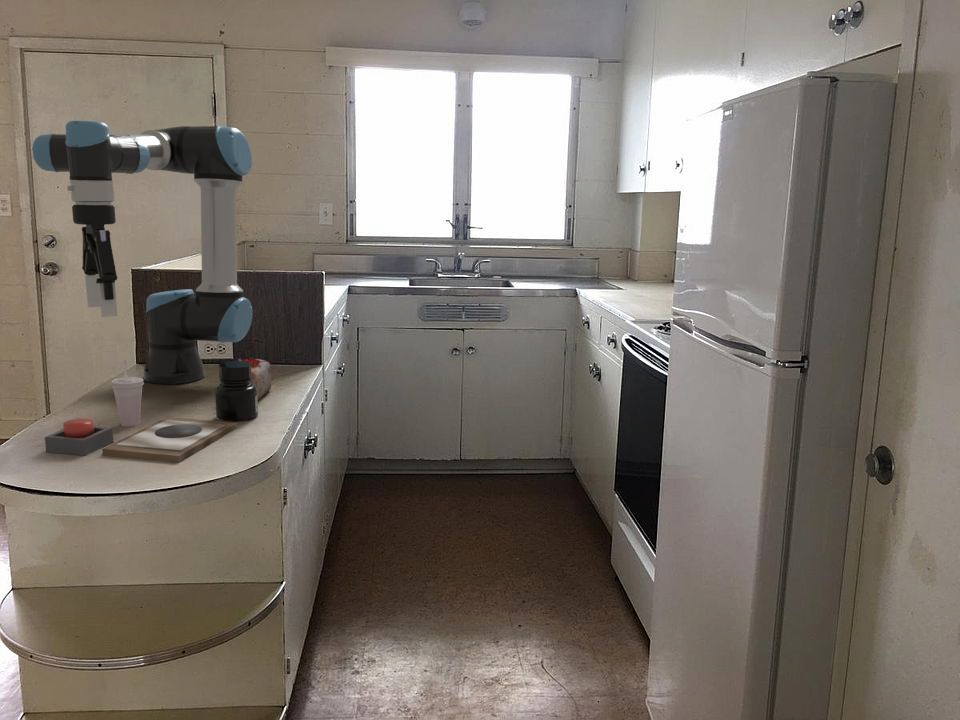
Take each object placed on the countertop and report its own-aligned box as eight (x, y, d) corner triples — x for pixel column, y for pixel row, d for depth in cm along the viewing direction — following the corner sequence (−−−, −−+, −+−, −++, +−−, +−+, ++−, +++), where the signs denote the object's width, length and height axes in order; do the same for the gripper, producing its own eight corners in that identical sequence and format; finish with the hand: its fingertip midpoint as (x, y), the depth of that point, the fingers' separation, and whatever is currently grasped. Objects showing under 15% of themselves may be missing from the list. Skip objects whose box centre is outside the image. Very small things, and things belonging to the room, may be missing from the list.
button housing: (75, 438, 160) (74, 424, 159) (113, 442, 158) (112, 427, 158) (46, 451, 152) (44, 436, 151) (85, 455, 150) (84, 440, 150)
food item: (257, 405, 187) (256, 364, 185) (224, 404, 187) (222, 363, 185) (274, 391, 200) (273, 353, 198) (242, 390, 201) (241, 352, 199)
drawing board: (168, 422, 172) (167, 415, 172) (236, 428, 169) (236, 421, 169) (102, 454, 151) (102, 447, 151) (179, 462, 148) (179, 454, 148)
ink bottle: (267, 416, 179) (265, 364, 176) (236, 425, 171) (233, 371, 169) (238, 408, 184) (236, 358, 181) (206, 417, 177) (204, 364, 174)
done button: (76, 429, 157) (75, 417, 157) (100, 431, 157) (99, 419, 156) (58, 437, 152) (57, 425, 152) (82, 439, 152) (81, 427, 151)
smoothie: (137, 417, 175) (132, 355, 172) (152, 423, 171) (148, 360, 168) (108, 424, 170) (103, 360, 167) (123, 430, 166) (118, 364, 163)
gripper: (61, 201, 163) (70, 304, 167) (84, 205, 143) (94, 322, 148) (100, 201, 167) (108, 301, 172) (128, 206, 147) (137, 318, 152)
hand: (102, 311), depth 160 cm, fingers open, 13 cm apart
